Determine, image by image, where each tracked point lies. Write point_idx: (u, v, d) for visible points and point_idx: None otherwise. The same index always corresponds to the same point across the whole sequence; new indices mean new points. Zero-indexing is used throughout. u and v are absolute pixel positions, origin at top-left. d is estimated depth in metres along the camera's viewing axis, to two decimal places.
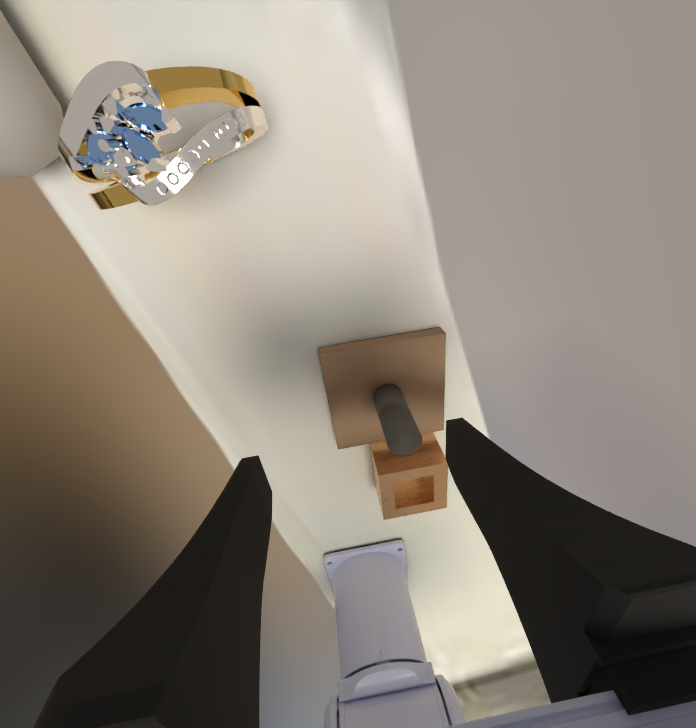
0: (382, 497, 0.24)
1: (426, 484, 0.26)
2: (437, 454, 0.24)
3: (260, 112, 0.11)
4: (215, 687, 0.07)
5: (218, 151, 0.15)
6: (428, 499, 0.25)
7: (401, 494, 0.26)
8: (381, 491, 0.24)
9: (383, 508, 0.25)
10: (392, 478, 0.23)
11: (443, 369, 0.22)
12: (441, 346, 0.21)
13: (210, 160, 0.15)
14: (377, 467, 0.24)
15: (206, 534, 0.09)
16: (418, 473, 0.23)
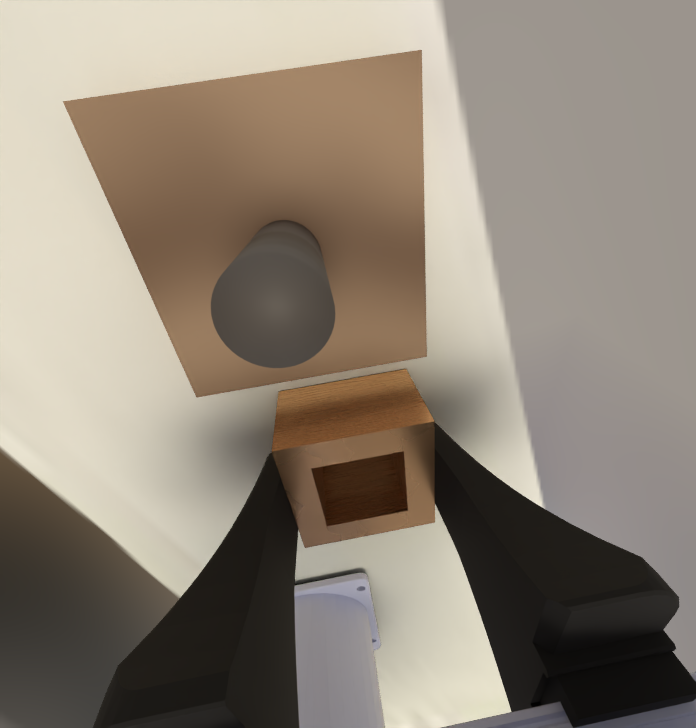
0: (292, 502, 0.11)
1: (395, 475, 0.13)
2: (412, 406, 0.11)
3: None
4: (265, 676, 0.07)
5: None
6: (398, 505, 0.12)
7: (344, 495, 0.13)
8: (287, 489, 0.11)
9: (299, 525, 0.12)
10: (307, 458, 0.10)
11: (420, 183, 0.09)
12: (412, 99, 0.08)
13: None
14: (276, 434, 0.10)
15: (245, 527, 0.09)
16: (368, 446, 0.10)
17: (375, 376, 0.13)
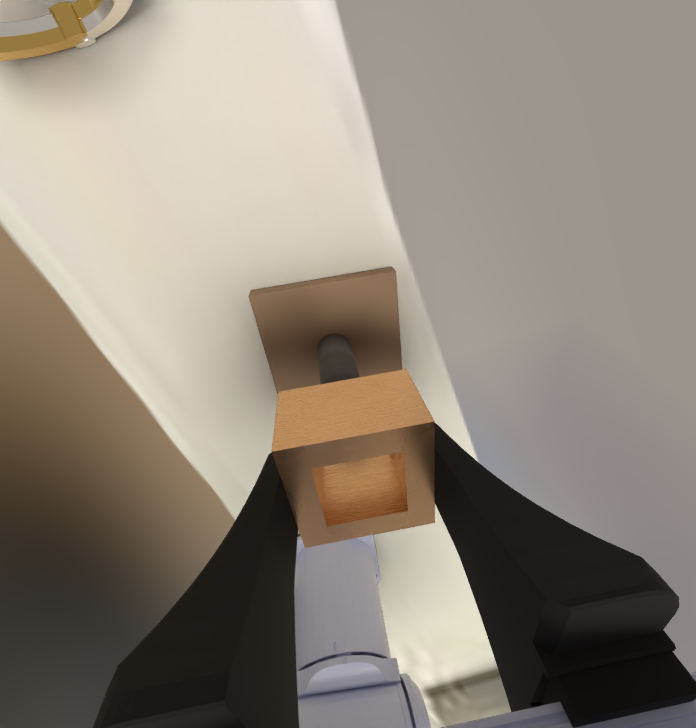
0: (292, 502, 0.11)
1: (395, 475, 0.13)
2: (412, 406, 0.11)
3: None
4: (265, 676, 0.07)
5: (92, 20, 0.12)
6: (397, 505, 0.12)
7: (344, 495, 0.13)
8: (287, 490, 0.11)
9: (299, 525, 0.12)
10: (307, 458, 0.10)
11: (397, 316, 0.19)
12: (392, 287, 0.18)
13: (84, 32, 0.12)
14: (276, 434, 0.10)
15: (245, 527, 0.09)
16: (368, 447, 0.10)
17: (375, 376, 0.13)
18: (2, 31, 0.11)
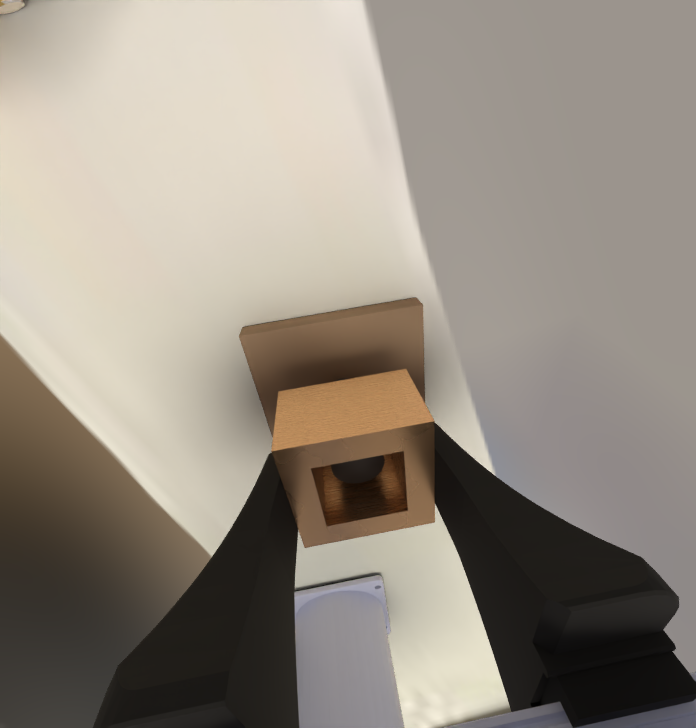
0: (292, 501, 0.11)
1: (395, 475, 0.13)
2: (412, 406, 0.11)
3: None
4: (265, 676, 0.07)
5: None
6: (397, 505, 0.12)
7: (344, 495, 0.13)
8: (286, 489, 0.11)
9: (299, 525, 0.12)
10: (307, 458, 0.10)
11: (421, 358, 0.16)
12: (417, 323, 0.15)
13: None
14: (276, 434, 0.10)
15: (245, 527, 0.09)
16: (368, 447, 0.10)
17: (375, 376, 0.13)
18: None
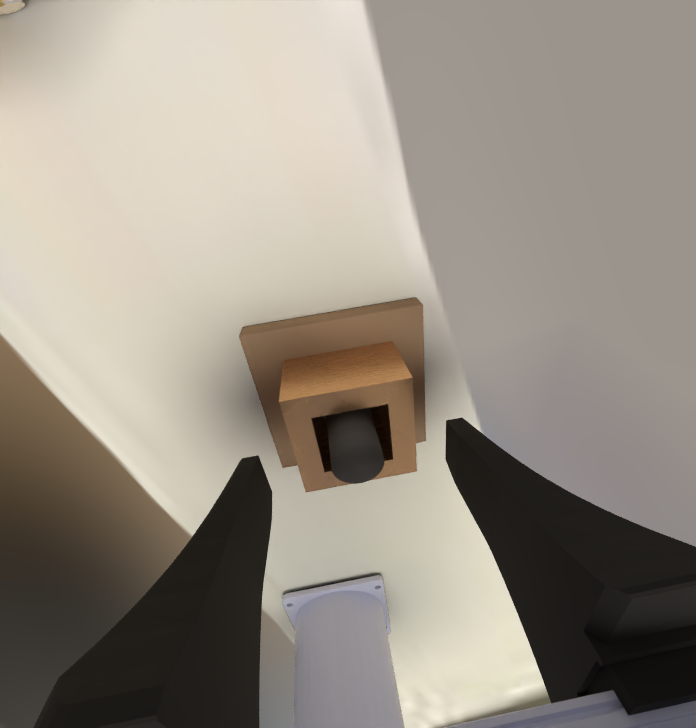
0: (295, 448, 0.13)
1: (384, 433, 0.16)
2: (395, 367, 0.13)
3: None
4: (215, 686, 0.07)
5: None
6: (385, 455, 0.14)
7: None
8: (291, 437, 0.13)
9: (301, 470, 0.14)
10: (308, 409, 0.12)
11: (421, 358, 0.16)
12: (417, 323, 0.15)
13: None
14: (282, 390, 0.13)
15: (206, 534, 0.09)
16: (358, 399, 0.12)
17: (366, 347, 0.15)
18: None
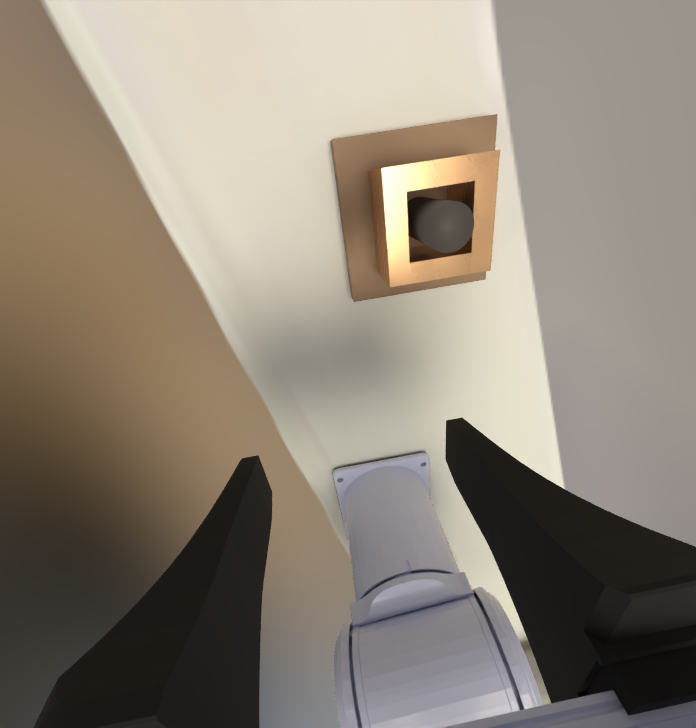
0: (388, 229, 0.15)
1: None
2: None
3: None
4: (215, 687, 0.07)
5: None
6: (463, 252, 0.16)
7: (418, 255, 0.17)
8: (386, 214, 0.14)
9: (390, 258, 0.15)
10: (405, 180, 0.14)
11: None
12: (490, 136, 0.16)
13: None
14: (380, 168, 0.14)
15: (206, 534, 0.09)
16: (450, 172, 0.14)
17: None
18: None
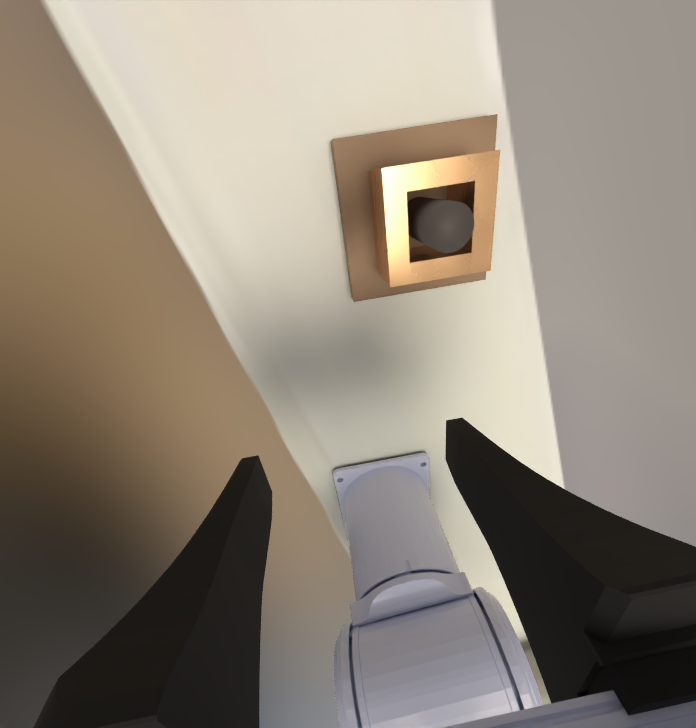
0: (388, 229, 0.15)
1: None
2: None
3: None
4: (215, 687, 0.07)
5: None
6: (463, 252, 0.16)
7: (418, 255, 0.17)
8: (386, 214, 0.14)
9: (390, 258, 0.15)
10: (405, 180, 0.14)
11: None
12: (490, 136, 0.16)
13: None
14: (380, 168, 0.14)
15: (206, 534, 0.09)
16: (450, 172, 0.14)
17: None
18: None
